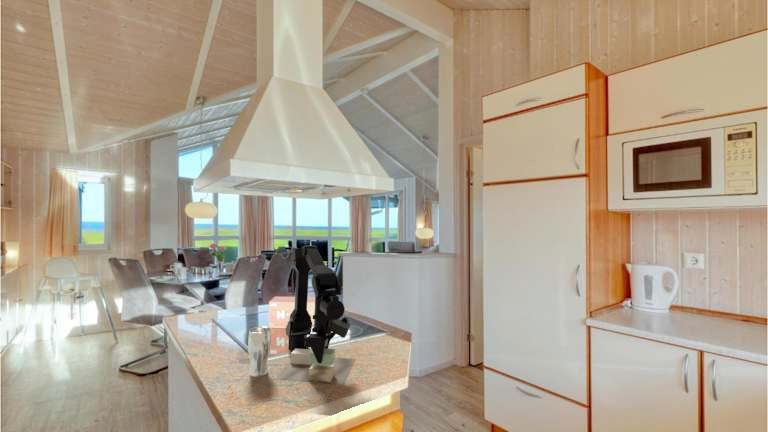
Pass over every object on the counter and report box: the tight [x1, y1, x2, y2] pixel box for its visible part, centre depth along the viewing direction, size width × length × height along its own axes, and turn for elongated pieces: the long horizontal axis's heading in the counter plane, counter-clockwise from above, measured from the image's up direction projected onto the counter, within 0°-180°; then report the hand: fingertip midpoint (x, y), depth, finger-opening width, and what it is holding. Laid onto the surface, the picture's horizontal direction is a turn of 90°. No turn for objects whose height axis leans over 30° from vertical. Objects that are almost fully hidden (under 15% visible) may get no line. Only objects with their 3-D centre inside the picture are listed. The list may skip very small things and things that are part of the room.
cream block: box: [289, 348, 312, 365], centre depth 125 cm, size 7×4×4 cm, turn 84°
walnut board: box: [274, 357, 356, 386], centre depth 120 cm, size 22×20×1 cm
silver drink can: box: [247, 326, 272, 378], centre depth 116 cm, size 7×7×15 cm
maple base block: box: [309, 364, 334, 382], centre depth 113 cm, size 7×4×4 cm, turn 84°
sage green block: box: [309, 348, 336, 366], centre depth 113 cm, size 7×4×4 cm, turn 84°
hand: (321, 359), depth 113 cm, fingers closed on sage green block, 4 cm apart
